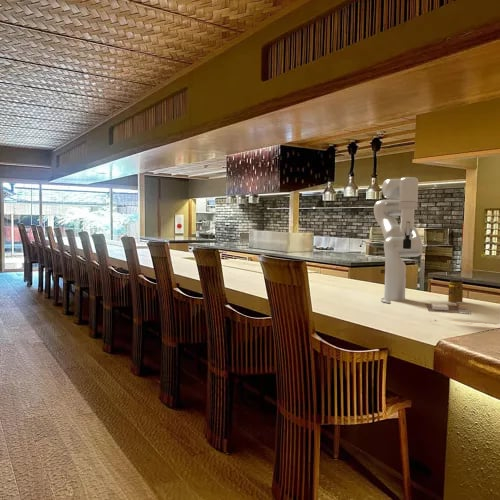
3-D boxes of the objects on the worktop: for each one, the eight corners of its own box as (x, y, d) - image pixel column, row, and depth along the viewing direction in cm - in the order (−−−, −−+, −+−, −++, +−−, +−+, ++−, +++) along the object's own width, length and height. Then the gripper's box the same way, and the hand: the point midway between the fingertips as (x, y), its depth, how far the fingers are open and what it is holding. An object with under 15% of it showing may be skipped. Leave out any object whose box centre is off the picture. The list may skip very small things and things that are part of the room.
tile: (431, 303, 190) (433, 305, 184) (446, 303, 189) (448, 306, 182) (431, 306, 191) (432, 309, 184) (446, 307, 189) (448, 310, 182)
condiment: (444, 303, 208) (445, 278, 207) (462, 303, 208) (463, 278, 207) (451, 306, 200) (452, 280, 200) (470, 306, 200) (471, 280, 200)
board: (424, 307, 198) (425, 303, 198) (463, 309, 193) (463, 306, 193) (428, 315, 181) (428, 311, 181) (471, 317, 176) (471, 314, 176)
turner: (454, 305, 193) (454, 301, 193) (464, 306, 192) (464, 302, 192) (460, 313, 177) (460, 308, 177) (471, 314, 176) (471, 309, 176)
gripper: (398, 207, 196) (397, 247, 197) (399, 205, 181) (398, 249, 182) (416, 206, 193) (415, 248, 194) (418, 205, 179) (417, 249, 180)
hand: (406, 248), depth 188 cm, fingers closed
